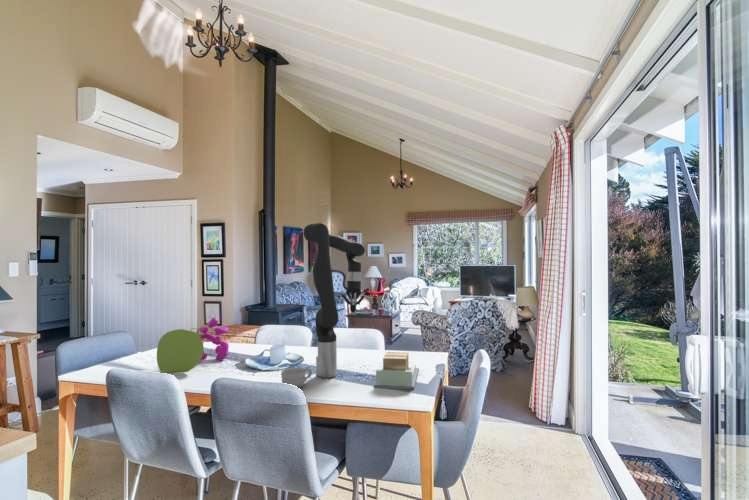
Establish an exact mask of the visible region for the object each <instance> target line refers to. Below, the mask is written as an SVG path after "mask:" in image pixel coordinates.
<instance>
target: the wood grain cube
mask: <svg viewBox="0 0 749 500" xmlns="http://www.w3.org/2000/svg"><path fill="white" fill-rule="evenodd" d="M409 368H410V367H409V352H397V351H395V352H393V351H386V352H385V355H384V356H383V358H382V369H385V370H409Z"/></svg>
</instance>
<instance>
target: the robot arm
mask: <svg viewBox="0 0 749 500" xmlns="http://www.w3.org/2000/svg"><path fill="white" fill-rule="evenodd" d="M303 238H304V239H305V240H306V241H307V242H308V243H313V244H316V246H317V255H316V258H315V261H314V263H313V266H312V277H313V282H314V287H315V290H316V292H317V295H318V297H319V300H320V301H319V302H320V309H318V310H317V312H316V315H315V332H316V333H315V334H316V337H317V356H316V357H315V359H316V360H315V361H316V362H315V365H316V366H315V371H316V375H315V376H316V377H319V378H321V379H330V378H335V377H337V376H338V371H337V370H338V367H337V366H338V365H337V362H338V361H337V360H338V358H337V351H338V350H337V334H336V333H335V331H334V328H335V327H336V326H337V324H338V322H339V311H338V308H337V303H336V299H335V291H334V290H335V289H334V282H333V281H334V280H333V271H332V264H331V263H332V262H331V254H330V248H333V249H335V250H337V251H340V252H342V253H345V256H346V261H347V274H346V275H347V277H346V280H347V281H346V282H347V283H346V290H345V293H342V295H341V296H342V298H343V300H344V301H345V302H346V304H347V305H349V306H350V308H349V309H350V312H351V313H355V312H356V311H357V305H360V303H361V302H363V300H364V299H365V298H366V295H365V294H363V293H362V262H361V261H360V260H357V258H356V257H362V256H364V254H365V251H366V249H365V246H364V245H363V244H362V243H361V242H358V241H353V240H349V239H347V238H345V237H343V236H340V235H336V234H330V231H329V227H328V226H327V224H326V223H324V222H318V223H317V222H316V223H310V224H307V225H306V226H304V229H303ZM358 298H359V300H358Z"/></svg>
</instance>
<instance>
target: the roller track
mask: <svg viewBox="0 0 749 500" xmlns="http://www.w3.org/2000/svg"><path fill="white" fill-rule="evenodd" d="M419 370H420V367H416V364H412V366H411V367H409V370H385V369H383V368H382V369H381V368H379V369H378V368H377V369H376V370H375V373H376V374H375V379H376V380H375V383H374V384H373V388H376V389H395V390H415V388H416V387H415V386H416V384H417V379H418V375H419Z"/></svg>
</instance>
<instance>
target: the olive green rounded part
mask: <svg viewBox="0 0 749 500" xmlns="http://www.w3.org/2000/svg"><path fill="white" fill-rule="evenodd" d="M218 324H219V320H217V318H216V317H212V318H211V319H210V320H209V321H208V322H207V324H204V325H202V326H200V328H195V327H193V328H191V329H190V330H188V329H184V328H183V329H182V328H180V329H173V330H171V331H168V332H166V333H164V334H163V335H162V336H161V337H160V339H159V341H158V344H157V349H156V361H157V367H158V369H159V371H160V372H161V373H162V372H165V373H166V374H169V373H170V374H172V373H173V374H175V373H176V374H177V373H187V372H191V370H193V369H194V368H195V367H196V366H197V365H198V364H199V363H200V361H206V360H207V358H208V356H214V355H216V357H215V360H216V361H218V362H219V361H222V360H225V359H226V358H227V357H228V356H229V342H227V341H222V338H221V335H223V334H224V335H225V334H226V333H227V332H229V327H227V326H220V327H217V326H218ZM214 327H215V328H214ZM193 329H195V330H196V332H195V331H192V330H193ZM209 329H211V330H213V332H214V334H215V335H214V334H212V333H209ZM199 332H200V333H201V334H198V333H199ZM206 339H207V340H206ZM209 342H211V343H212V344H213V345H216V347H215V348H214V349H215V353H211V351H212V350H210V351H209V353H206V352H205V351H204V348H205V347H204V343H209ZM165 373H164V374H165Z"/></svg>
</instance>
